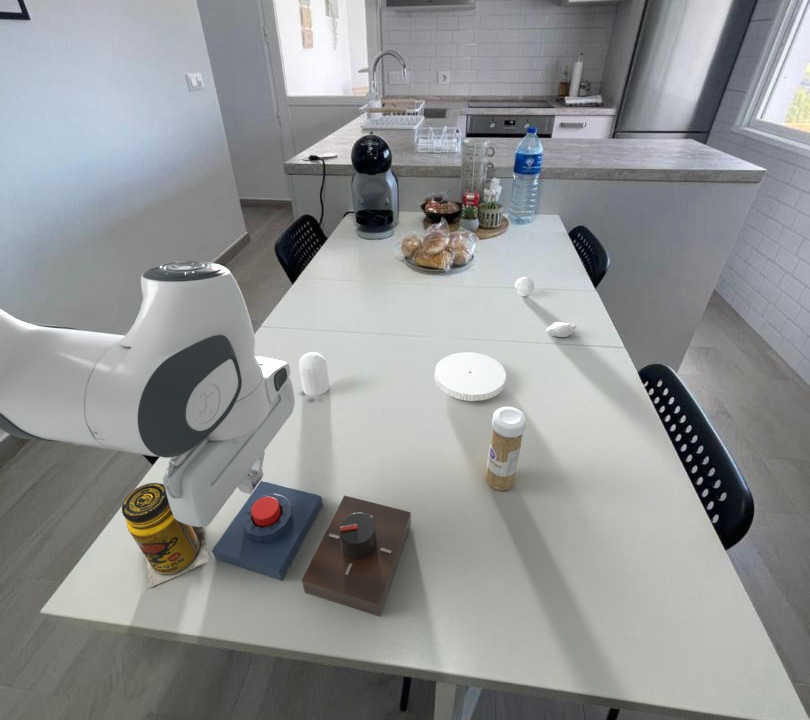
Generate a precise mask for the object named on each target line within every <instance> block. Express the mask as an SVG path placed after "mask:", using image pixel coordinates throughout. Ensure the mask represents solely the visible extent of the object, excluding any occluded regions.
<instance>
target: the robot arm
mask: <svg viewBox="0 0 810 720" xmlns="http://www.w3.org/2000/svg"><path fill="white" fill-rule="evenodd" d="M140 286H141V287H140V288H141V294H142V301H141V305H140V309H139V312H138V314H137V316H136V317H135V318H136V319H135V321H134V322H133V324H132V326H131V328H130V329H129V331H128V332H127V333H126V334H125V335H122V334H117V333H116V334H114V333H105V332H97V331H91V330H90V331H89V330H82V329H78V328H73V327H68V326H61V325H56V324H47V323H35V322H34V323H32V322H25V321H22V320H20V319H17V318H16V317H14V316H12V315H11V314H9V313H8V312H7V311H5V310H3V309H1V308H0V430H1V431H3V432H4V433H7V434H9V435H11V436H12V437H15V438H20V439H24V440H31V441H44V442H56V443H67V444H74V445H80V446H84V447H85V446H86V447H91V448H99V449H104V450H109V451H114V452H115V451H116V452H117V451H118V452H124V453H129V454H135V455H143V456H148V457H159V458H160V457H161V458H165V459H167V458H168V459H169V458H170V459H169V461H168V466H167V468H166V470H165V473H164V476H163V477H162V484H164V486H165V489H166V494H167V498H168V502H169V505H170V508H171V511H172V514H173V516H174V518H175V519H176V520H177V521H179V522H181V523H184V524H187V525H191V526H195V527H203V528H205V527H207V526H209V525H210V524H211V523H212V521H214V519H215V517H216V516H217V515H218V514H219V512H220V511H221V509H222V508H223V507H224V506H225V504H226V503H227V501H228V500H229V499H230V498H231V496H232V495H233V493H234V492H235V491H236V489H237V488H238V490H239V491H240V492H241V493H245V494H249V495H251V494H252V493H253V492H254V490H255V489H256V487H257V486H258V485H259V483H260V482H261V481H262V479H263V478H264V472H263V465H264V460H265V454H266V453H265V452H266V451H265V450H266V449H267V448H268V447H269V445H270V443H271V442H272V440H273V439H274V438H275V437H276V435H277V434H278V433H279V431H280V430H281V429H282V427H283V426H284V425H285V423H286V422H287V420H288V419H289V418H290V417H291V415H292V414H293V412H294V408H295V403H296V401H295V399H296V398H295V392H294V388H293V387H294V386H293V382H292V379H291V378H290V376H291V367H290V364H289V363H288V362H286V361H283V360H279V359H274V358H270V357H264V356H256V355H255V347H256V337H255V332H254V328H253V324H252V321H251V317H250V313H249V310H248V307H247V304H246V301H245V298H244V295H243V292H242V290H241V288H240V286H239V283H238V281H237V280H236V278H235V276H234V275H233V274H232V272H231V271H230V270H229V268H227V267H225V266H223V265H220V264H219V263H214V262H207V261H197V260H196V261H195V260H185V261H170V262H165V263H160V264H157V265H155V266H152V267H150V268H149V269H147V270H145V271H144V272H143V273H142V274H141V276H140Z"/></svg>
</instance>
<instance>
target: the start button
mask: <svg viewBox="0 0 810 720" xmlns="http://www.w3.org/2000/svg"><path fill="white" fill-rule="evenodd" d="M251 514H252V517H253V519H254V522H255V523H256V524H257V525H258V526H261V527H267V526H271V525H273V524H274V523H275V522H277V520H278V519H279V517H280V514H281V511H280V507H279V504H278V501H277V500H276V499H275V498H273V497H263V498H261V499H259V500H257V501H256V502H255V503H254V504H253V506H252V509H251Z"/></svg>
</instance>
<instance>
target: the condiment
mask: <svg viewBox="0 0 810 720" xmlns="http://www.w3.org/2000/svg"><path fill="white" fill-rule="evenodd" d="M121 513H122V516H123V517H124V518H125V521H126V528H127V531H128V532H129V533H130V536H131V537H132V539H133V540H134V541H135V543H136V544H137V546H138V547H139V550H140V551H141V552H142V554H143V555H144V557H145V558H146V561H147V571H148V572H147V573H148V588H152V587H155V586H157V585H160V584H162V583H164V582H167V581H169V580H171V579H173V578H176V577H179V576H181V575H182V574H185V573H188V572H189V571H191V570H194V569H196V568H197V567H199V566H202V565H204V564H206V563H209V562H210V558H209V552H208V546H207V542H206V541H207V540H206V536H205V531H204V527H195V526H191V525H187V524H184V523H181V522H179V521H177V520H176V519H175V518H174V516H173V514H172V511H171V508H170V505H169V502H168V498H167V494H166V489H165V486H164V484H163V483H159V482H150V483H145V484H142V485H140V486H139V487H137V488H135V489H133V490H132V491H131V492H129V494H128V495H127V496H125V499H124V500H123V502H122V504H121Z"/></svg>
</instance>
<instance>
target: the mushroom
mask: <svg viewBox="0 0 810 720" xmlns="http://www.w3.org/2000/svg"><path fill="white" fill-rule="evenodd" d="M514 288H515V289H516V291H517V295H518V296H520V297H522V298H523V297H527V296H529V295H530V294H532V293H533V291H534V289H535V284H534V281H533V280H532V279H531V278H529V277H526V276H524V277H523V276H522V277H520V278H519V279H517V280H516V282H515V284H514Z"/></svg>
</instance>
